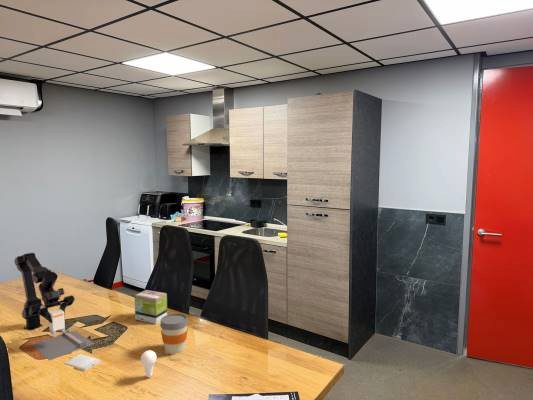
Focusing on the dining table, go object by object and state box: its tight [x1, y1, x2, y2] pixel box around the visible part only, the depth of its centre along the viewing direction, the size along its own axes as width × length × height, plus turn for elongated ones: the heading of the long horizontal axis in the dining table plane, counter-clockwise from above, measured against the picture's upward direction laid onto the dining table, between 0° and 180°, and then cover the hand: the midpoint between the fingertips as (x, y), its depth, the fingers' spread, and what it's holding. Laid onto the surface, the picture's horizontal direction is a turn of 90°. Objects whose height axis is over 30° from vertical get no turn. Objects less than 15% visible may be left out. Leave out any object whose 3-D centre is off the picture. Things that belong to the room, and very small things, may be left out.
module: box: [48, 308, 66, 336], centre depth 174 cm, size 5×5×10 cm
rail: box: [61, 329, 86, 348], centre depth 181 cm, size 20×3×2 cm, turn 50°
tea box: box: [134, 289, 168, 325], centre depth 207 cm, size 15×10×15 cm, turn 68°
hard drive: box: [64, 354, 101, 372], centre depth 161 cm, size 2×8×12 cm
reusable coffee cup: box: [160, 313, 189, 355], centre depth 172 cm, size 12×13×15 cm
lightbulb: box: [140, 350, 158, 378], centre depth 150 cm, size 6×6×11 cm
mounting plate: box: [31, 330, 95, 361], centre depth 177 cm, size 22×20×1 cm
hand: (57, 320), depth 173 cm, fingers closed on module, 5 cm apart
